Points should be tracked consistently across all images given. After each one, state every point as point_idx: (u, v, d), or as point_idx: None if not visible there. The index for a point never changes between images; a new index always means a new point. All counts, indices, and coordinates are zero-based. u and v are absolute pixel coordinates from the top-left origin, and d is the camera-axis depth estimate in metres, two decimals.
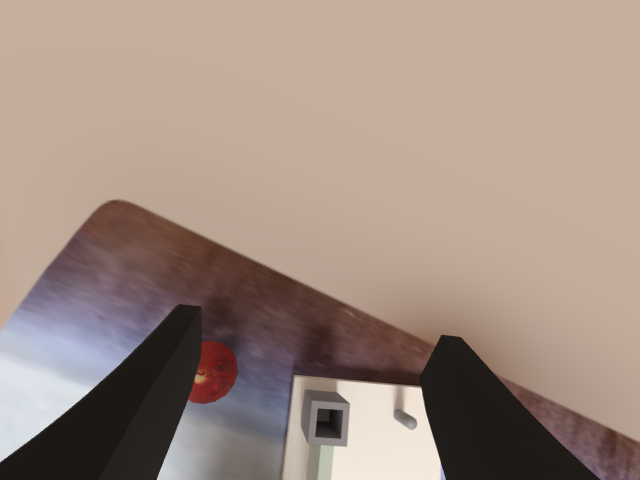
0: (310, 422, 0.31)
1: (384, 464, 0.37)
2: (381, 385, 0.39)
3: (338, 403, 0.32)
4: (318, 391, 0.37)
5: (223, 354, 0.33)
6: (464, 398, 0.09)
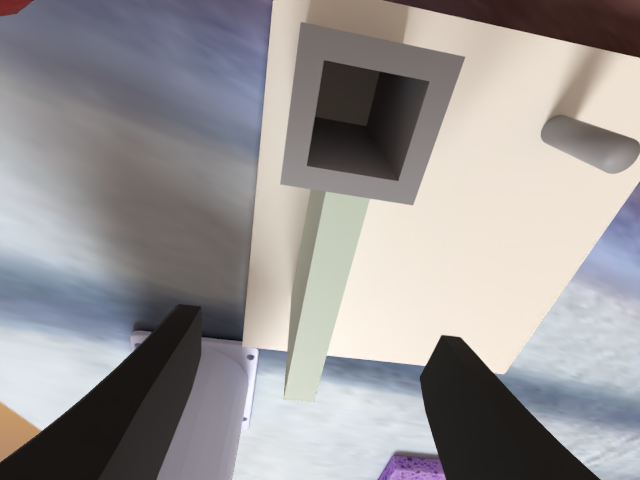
0: (292, 114, 0.08)
1: (476, 227, 0.17)
2: (543, 40, 0.13)
3: (415, 50, 0.07)
4: None
5: None
6: (464, 398, 0.09)
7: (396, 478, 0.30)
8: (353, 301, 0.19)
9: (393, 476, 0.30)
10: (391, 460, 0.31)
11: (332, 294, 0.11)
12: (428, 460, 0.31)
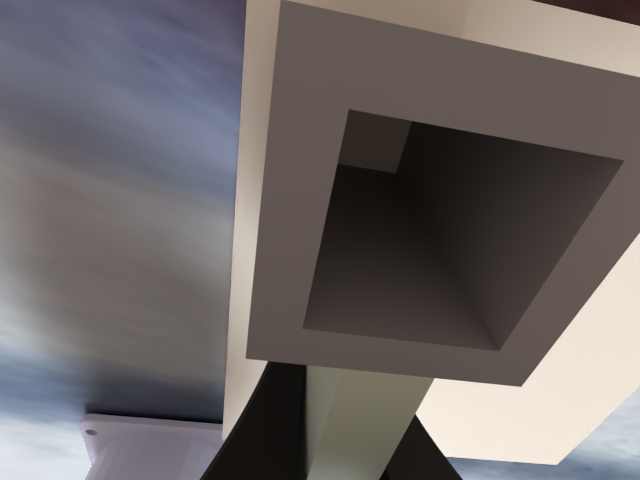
0: (265, 232, 0.03)
1: None
2: None
3: (607, 81, 0.03)
4: None
5: None
6: None
7: None
8: None
9: None
10: None
11: None
12: None
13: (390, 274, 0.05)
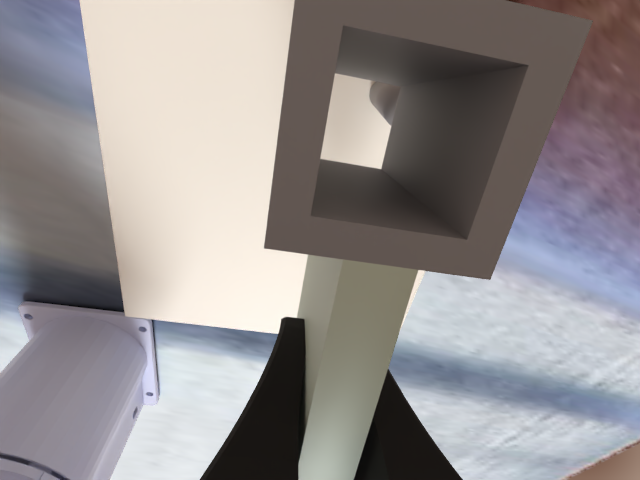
0: (284, 126, 0.05)
1: None
2: None
3: (506, 8, 0.04)
4: None
5: None
6: None
7: None
8: (225, 270, 0.19)
9: None
10: None
11: (352, 427, 0.06)
12: None
13: (378, 205, 0.06)
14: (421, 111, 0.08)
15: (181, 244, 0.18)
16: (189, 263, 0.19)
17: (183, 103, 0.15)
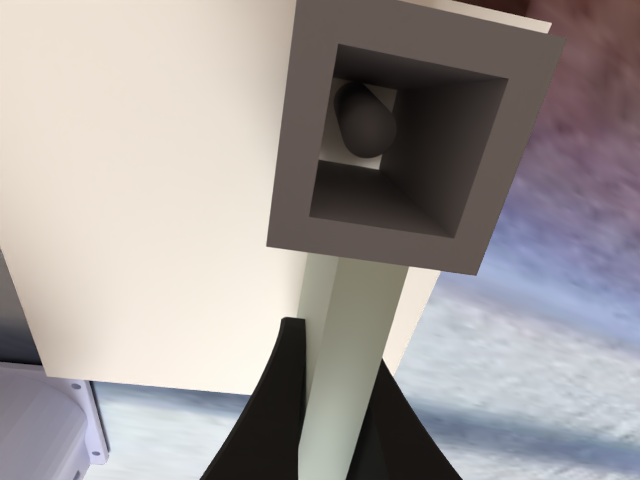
0: (284, 134, 0.05)
1: None
2: None
3: (487, 27, 0.04)
4: None
5: None
6: None
7: None
8: (163, 324, 0.15)
9: None
10: None
11: (348, 413, 0.07)
12: None
13: (373, 205, 0.07)
14: (415, 115, 0.08)
15: (103, 295, 0.14)
16: (118, 317, 0.15)
17: (77, 117, 0.11)
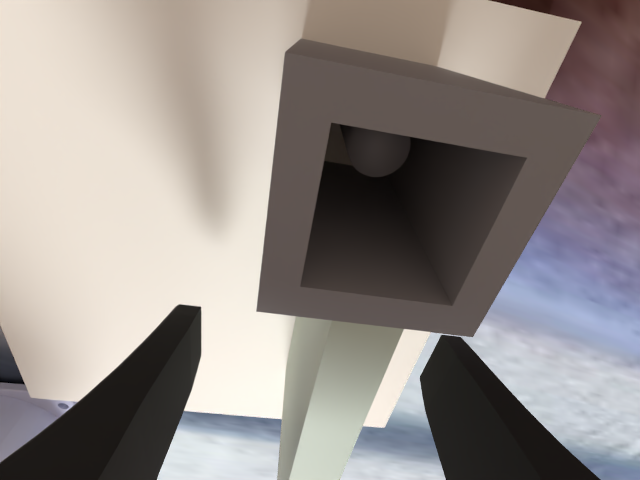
0: (272, 210, 0.05)
1: None
2: None
3: (507, 103, 0.04)
4: (359, 51, 0.08)
5: None
6: (464, 399, 0.09)
7: None
8: None
9: None
10: None
11: (340, 441, 0.07)
12: None
13: (371, 250, 0.06)
14: None
15: (88, 315, 0.13)
16: (104, 337, 0.14)
17: (53, 126, 0.10)
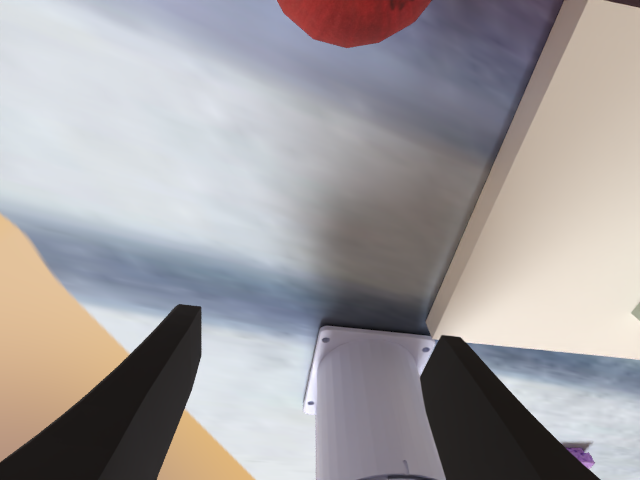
0: None
1: None
2: None
3: None
4: None
5: None
6: (464, 399, 0.09)
7: None
8: (552, 294, 0.20)
9: None
10: None
11: None
12: None
13: None
14: None
15: (525, 272, 0.19)
16: (522, 289, 0.20)
17: (603, 144, 0.15)
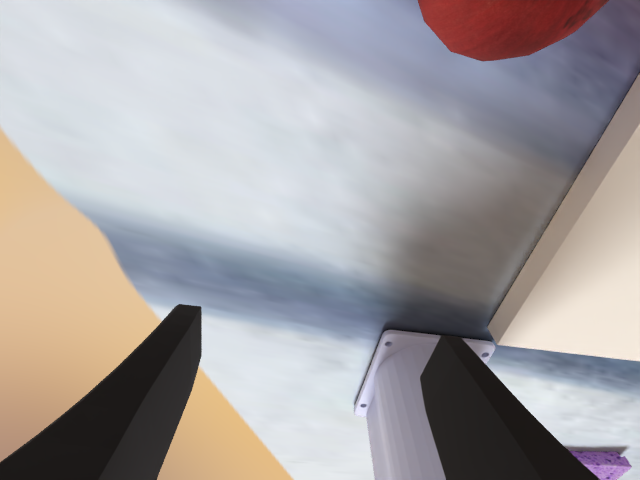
0: None
1: None
2: None
3: None
4: None
5: None
6: (464, 398, 0.09)
7: None
8: (621, 303, 0.20)
9: None
10: None
11: None
12: (587, 453, 0.32)
13: None
14: None
15: (599, 280, 0.19)
16: (593, 297, 0.20)
17: None
